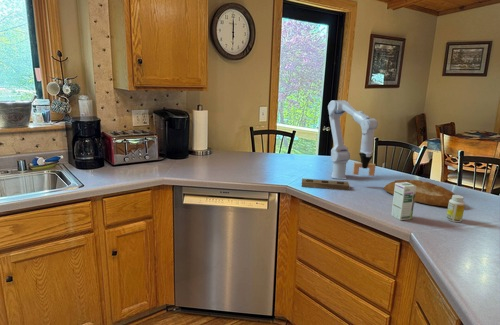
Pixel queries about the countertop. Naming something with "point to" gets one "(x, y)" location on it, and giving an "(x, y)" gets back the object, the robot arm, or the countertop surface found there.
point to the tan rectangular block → (357, 165)
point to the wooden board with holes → (325, 184)
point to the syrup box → (403, 201)
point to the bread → (425, 192)
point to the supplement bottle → (455, 208)
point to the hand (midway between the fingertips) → (364, 167)
